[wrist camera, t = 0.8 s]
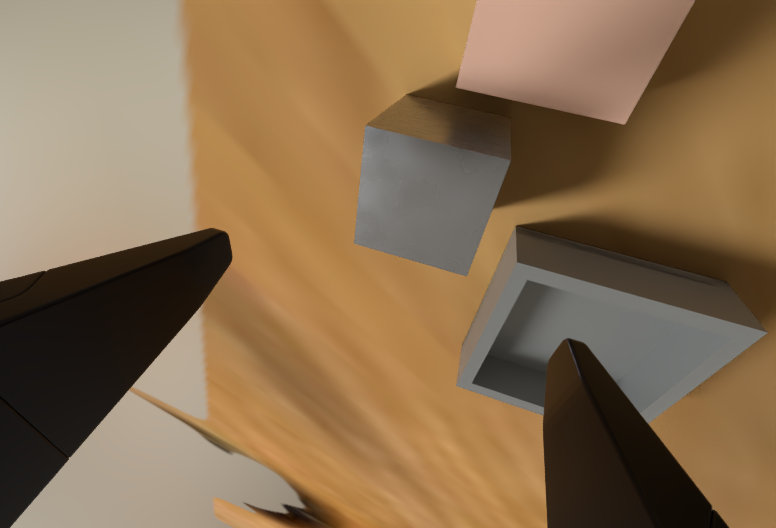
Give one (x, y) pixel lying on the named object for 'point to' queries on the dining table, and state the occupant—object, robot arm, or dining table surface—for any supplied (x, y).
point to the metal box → (431, 181)
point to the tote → (600, 323)
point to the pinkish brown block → (570, 52)
